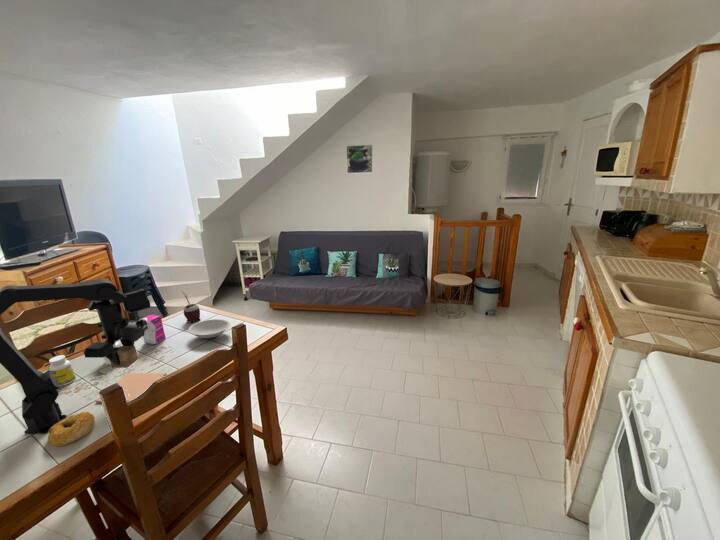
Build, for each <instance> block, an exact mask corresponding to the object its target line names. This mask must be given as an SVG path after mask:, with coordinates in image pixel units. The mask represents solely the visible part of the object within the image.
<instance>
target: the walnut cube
mask: <svg viewBox="0 0 720 540" xmlns="http://www.w3.org/2000/svg"><path fill="white" fill-rule="evenodd" d="M118 356H119V360H120V365H115V364H114V363H113V362H112V361H110V362H111V364H110V365H111V368H112V369H113V368H119V369H125V368H127V369H128V368H129V367H130V366H131V365H133V364H134V363H135V362H136V361H137V360H138V359H139V356H138V352H137V349H136V346H135V345H134V346H123V345H121V346H120V349H119V350H118Z"/></svg>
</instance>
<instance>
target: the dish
mask: <svg viewBox="0 0 720 540" xmlns="http://www.w3.org/2000/svg"><path fill="white" fill-rule="evenodd" d="M230 326H231V323H230V322H229V320H226V319H221V318H212V319H205V320H200V321H197V322H195V323H192V324H191V325H190V326H189V327H188V330H187V331H188V333H189V334H190V335H193V336H196V337H198V338H202V339H210V338H215V337H218V336H220V335H222V334H223V333H224V332H225V331H226V330H227V329H228V328H229V327H230Z"/></svg>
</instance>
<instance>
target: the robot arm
mask: <svg viewBox="0 0 720 540" xmlns="http://www.w3.org/2000/svg"><path fill="white" fill-rule="evenodd" d="M70 299H71V300H72V299H80V300H85V301H87V300H88V301H91V302H90V303H88V305H87V306H86V307H87V309H88V310H89V311H90V312H91V311H97V316H98V318H99V321H100V322H98V324H97V327H98V328H101V329H102V332H103V333H104V334H102V335H101V336H100V337H101V339H102V340H105V341H104V342H98V341H97V342H93V343H91V344H90V345H89V346H87V347H86V348H85V349H84V350H83V355H84V358H85V359H86V358H93V359H95V358H99V359H101V358H103V357H106V358H108V359H109V360H110V361H112V362H113V363H114V364H115V365H120V360H119V356H118V350H119V349H120V347H116V346H115V343H116V342H117V341H120V342H121V346H135V342H138V341H139V339H141V338H143V336H144V333H145V330H147V329H148V327H147V322H146V320H144V319H142V318H140V319H141V320H140V319H139V320H138V319H137V320H133V319H132V320H131V319H130V320H129V318H128V316H124V314H123V313H124V312H128V313H129V314H132V313H136V312H140V311H143V310H147V309H149V308H150V309H151V302H150V300H149V298H148V296H147V294H146V290H145V289H144V288H140V289H137V290H134V291H130V292H126V293H124V292H123V291H122V290H121V289H118V288H117V287H116V285H115V284H114V283H113V282H112V281H111V280H110V279H108V278H96V279H90V280H89V279H88V280H85V281H82V282H77V283H63V284H58V283H57V284H35V285H12V284H11V285H5V286H4V287H3V286H2V288H0V316H1V315H2V314H4V313H5V312H6V311H7V310H9V308H11V307H12V306H13V305H14V304H16V303H25V302H26V303H27V302H42V301H43V302H44V301H57V300H58V301H59V300H70ZM121 305H122V307H121ZM122 308H123V309H122ZM123 310H124V312H123ZM0 365H1V366H2V367H3V368H4V369H6V370H7V372H8V373H9V374H10V375H11V376H12V377H13V378H14V379H15V380H16V381H17V382H18V383H19V384H20V386H21V388H22V391H23V394H24V395H25V396H24V397H23V399H22V401H21V416H22V419H23V421H24V422H25V426H26V428H27V429H26V430H24V431H23V433H24V434H31V435H32V434H36V435H37V434H39V435H40V434H41V435H44V434H48V433H49V430H50V428H51V427H52V426H53V425H55V424H56V423H58V422H60V421H62V420H63V419H65V418H67V417H68V416H67V414H63V412H62V410H61V407H60V405H59V403H58V402H56V400H57V399H58V398H59V394H60V393H59V390H60V386H59V383H58V378H56V377H54V376H53V375H52V374H51V372H50V370H49V369H48V370H46V371H45V372H42V371H40V370H38V369H36V367H35V366H34V365H33V364H32V363H31V361H29V359H27V357H25V355H24V354H23V353H22V352H21V351H20V350H19V349H18V348H17V347H16V345H14V344H13V343H12V341H10V339H9V338H8V337H7V336H6V335H5V334H4V332H3V331H2V328H1V327H0Z"/></svg>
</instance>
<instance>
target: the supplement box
mask: <svg viewBox="0 0 720 540" xmlns="http://www.w3.org/2000/svg"><path fill="white" fill-rule="evenodd" d="M141 319H144V320H146V322H147V327H148V329H147V330H145V333H144V336H143V337H142V338H143V342H144V344H145V343H146V345H151V344H153V345H152V346H156V345H157V344H159V343H161V341H164V340H166V333H165V330H164V329H165V328H164V325H163V321H162V316H161V315H155V314H149V315H146V316H145V317H142V318H140V319H139V320H141ZM158 342H159V343H158Z"/></svg>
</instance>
